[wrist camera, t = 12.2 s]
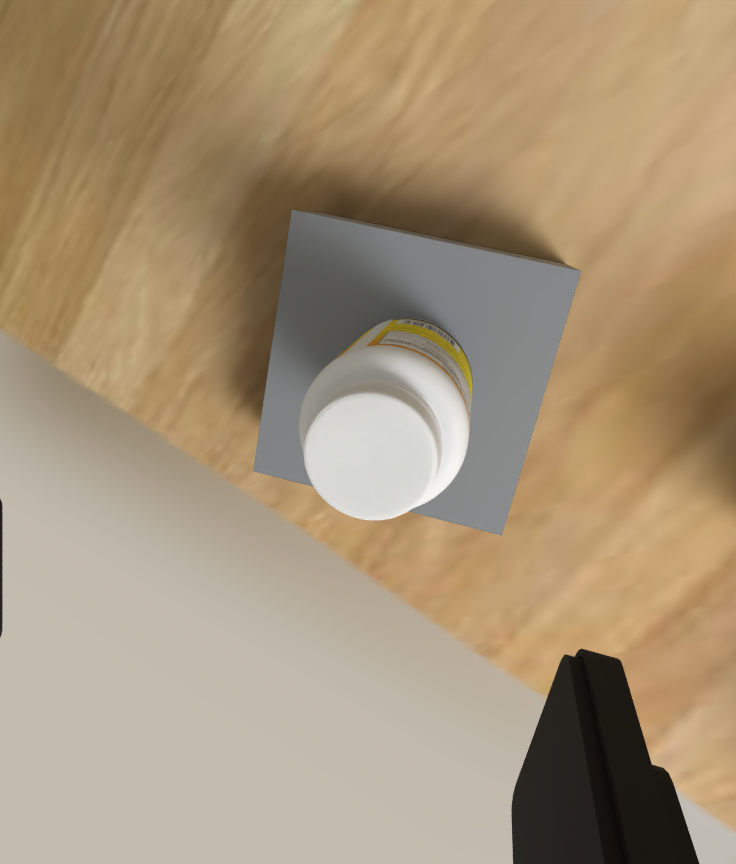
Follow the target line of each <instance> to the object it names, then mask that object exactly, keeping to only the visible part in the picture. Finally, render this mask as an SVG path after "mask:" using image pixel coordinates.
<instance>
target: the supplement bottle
mask: <svg viewBox="0 0 736 864" xmlns="http://www.w3.org/2000/svg"><path fill="white" fill-rule="evenodd" d="M472 388H473V378H472V372H471V367H470V363H469V361H468V358H467V356H466V354H465V352H464V350H463V348H462V347H461V345H460V344H459V343H458V341H457V340H456V339H455V338H454V337H453V336H452V335H451V334H450V333H448V332H447V331H446V330H445V329H443V328H442V327H440V326H438V325H436V324H434V323H432V322H429V321H426V320H422V319H417V318H397V319H392V320H388V321H385V322H382V323H380V324H378V325H376V326H374V327H373V328H371V329H369V330H368V331H367V332H365V333H364V334H363V335H362V336H361V337H360V338H358V339H357V340H356V341H355V342H354V343H353V344H352V345H350V346H349V347H348V348H347V349H346V350H345V351H344V352H342V353H341V354H340V355H339V356H338V357H337V358H335V359H334V360H333V361H332V362H331V363H329V364H328V365H327V366H326V367H325V368H324V369H323V370H322V371H321V372H320V373H319V375H318V376H317V377H316V378H315V380H314V381H313V383H312V384H311V386H310V387H309V389H308V391H307V393H306V395H305V398H304V400H303V403H302V407H301V411H300V417H299V436H300V442H301V447H302V450H303V454H304V464H305V468H306V472H307V474H308V477H309V479H310V481H311V483H312V485H313V487H314V488H315V490H316V491H317V492H318V493H319V495H320V496H321V497H322V498H323V499H324V500H325V501H326V502H327V503H328V504H330V505H331V506H333V507H334V508H335V509H337V510H339V511H340V512H342V513H344V514H346V515H349V516H352V517H355V518H359V519H364V520H385V519H391V518H394V517H397V516H400V515H402V514H404V513H406V512H408V511H409V510H411V509H412V508H415V507H418V506H420V505H422V504H425V503H427V502H428V501H430V500H432V499H433V498H435V497H436V496H437V495H439V494H440V493H441V492H442V491H443V490H444V489H445V488H446V487H447V486H448V485H449V484H450V483H451V482H452V480H453V479H454V478H455V476H456V475H457V473H458V472H459V470H460V468H461V466H462V463H463V461H464V458H465V455H466V452H467V447H468V441H469V431H470V414H471V402H472Z"/></svg>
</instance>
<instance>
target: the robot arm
mask: <svg viewBox="0 0 736 864" xmlns="http://www.w3.org/2000/svg"><path fill="white" fill-rule="evenodd" d="M1 634H2V502H1V500H0V636H1ZM512 841H513V864H699V862H698V858H697V855H696V852H695V849H694V846H693V843H692V840H691V837H690V834H689V831H688V828H687V825H686V821H685V818H684V815H683V812H682V809H681V806H680V803H679V800H678V797H677V794H676V790H675V787H674V784H673V782H672V780H671V777H670V775H669V773H668V772H667V771H666V770H665V769H664V768H662V767H658V766H655V765H652V764H651V760H650V757H649V754H648V750H647V747H646V744H645V740H644V737H643V733H642V730H641V727H640V723H639V720H638V716H637V713H636V710H635V706H634V703H633V699H632V696H631V693H630V689H629V686H628V682H627V679H626V676H625V672H624V669H623V666H622V663H621V661H620V660H619V659H617V658H613V657H610V656H606V655H603V654H599V653H595V652H592V651H588V650H584V649H580V650H579V651H578V652H577V653H576V655H575V657H573V656H569V655H564V656H563V658H562V660H561V662H560V664H559V667H558V670H557V673H556V675H555V678H554V681H553V684H552V686H551V689H550V692H549V695H548V697H547V700H546V703H545V706H544V708H543V711H542V714H541V717H540V719H539V722H538V725H537V728H536V730H535V733H534V736H533V739H532V742H531V744H530V747H529V750H528V752H527V755H526V758H525V760H524V763H523V766H522V769H521V772H520V774H519V777H518V780H517V783H516V786H515V789H514V794H513V801H512Z"/></svg>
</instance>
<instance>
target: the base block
mask: <svg viewBox="0 0 736 864" xmlns="http://www.w3.org/2000/svg"><path fill="white" fill-rule="evenodd" d="M580 273H581V271H580V270H578V269H575V268H573V267H571V266H569V265H567V264H563V263H558V262H553V261H548V260H544V259H539V258H534V257H530V256H525V255H520V254H515V253H511V252H506V251H501V250H496V249H492V248H487V247H482V246H478V245H473V244H468V243H463V242H459V241H454V240H449V239H444V238H440V237H435V236H430V235H426V234H421V233H416V232H411V231H407V230H402V229H397V228H392V227H388V226H383V225H378V224H374V223H369V222H364V221H359V220H355V219H350V218H345V217H340V216H336V215H331V214H326V213H322V212H311V211H300V210H292V212H291V218H290V225H289V232H288V239H287V245H286V252H285V259H284V266H283V273H282V279H281V286H280V293H279V300H278V306H277V313H276V320H275V327H274V334H273V340H272V347H271V354H270V361H269V368H268V374H267V381H266V388H265V395H264V401H263V408H262V415H261V422H260V429H259V435H258V442H257V449H256V456H255V462H254V469H253V471H254V472H258V473H262V474H266V475H270V476H274V477H278V478H281V479H285V480H289V481H293V482H297V483H301V484H305V485H309V486H312V487H313V485H312V483H311V481H310V479H309V477H308V474H307V472H306V468H305V464H304V454H303V450H302V447H301V442H300V436H299V417H300V411H301V407H302V403H303V400H304V398H305V395H306V393H307V391H308V389H309V387H310V386H311V384H312V383H313V381H314V380H315V378H316V377H317V376H318V375H319V373H320V372H321V371H322V370H323V369H324V368H325V367H326V366H327V365H328V364H329V363H331V362H332V361H333V360H334V359H335V358H337V357H338V356H339V355H340V354H341V353H342V352H344V351H345V350H346V349H347V348H348V347H349V346H350V345H352V344H353V343H354V342H355V341H356V340H357V339H358V338H360V337H361V336H362V335H363V334H364V333H365V332H367V331H368V330H369V329H371V328H373V327H374V326H376V325H378V324H380V323H382V322H385V321H388V320H392V319H397V318H417V319H422V320H426V321H429V322H432V323H434V324H436V325H438V326H440V327H442V328H443V329H445V330H446V331H447V332H448V333H450V334H451V335H452V336H453V337H454V338H455V339H456V340H457V341H458V343H459V344H460V345H461V347H462V348H463V350H464V352H465V354H466V356H467V358H468V361H469V363H470V367H471V372H472V378H473V388H472V402H471V414H470V431H469V441H468V447H467V452H466V455H465V458H464V461H463V463H462V466H461V468H460V470H459V472H458V473H457V475H456V476H455V478H454V479H453V480H452V482H451V483H450V484H449V485H448V486H447V487H446V488H445V489H444V490H443V491H442V492H441V493H440V494H439V495H437V496H436V497H435V498H433V499H432V500H430V501H428V502H427V503H425V504H422V505H420V506H418V507H415V508H412V509H411V510H409V512H413V513H417V514H421V515H424V516H428V517H432V518H436V519H440V520H444V521H448V522H452V523H455V524H459V525H463V526H467V527H471V528H475V529H479V530H482V531H486V532H490V533H494V534H498V535H502V533H503V530H504V526H505V523H506V520H507V516H508V513H509V510H510V506H511V503H512V500H513V496H514V493H515V490H516V486H517V483H518V480H519V476H520V473H521V470H522V466H523V463H524V460H525V456H526V453H527V450H528V446H529V443H530V440H531V436H532V433H533V430H534V426H535V423H536V420H537V416H538V413H539V410H540V406H541V403H542V400H543V396H544V393H545V390H546V386H547V383H548V380H549V376H550V373H551V370H552V366H553V363H554V360H555V356H556V353H557V350H558V346H559V343H560V340H561V336H562V333H563V330H564V326H565V323H566V320H567V316H568V313H569V310H570V306H571V303H572V300H573V296H574V293H575V290H576V286H577V283H578V280H579V276H580Z"/></svg>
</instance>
